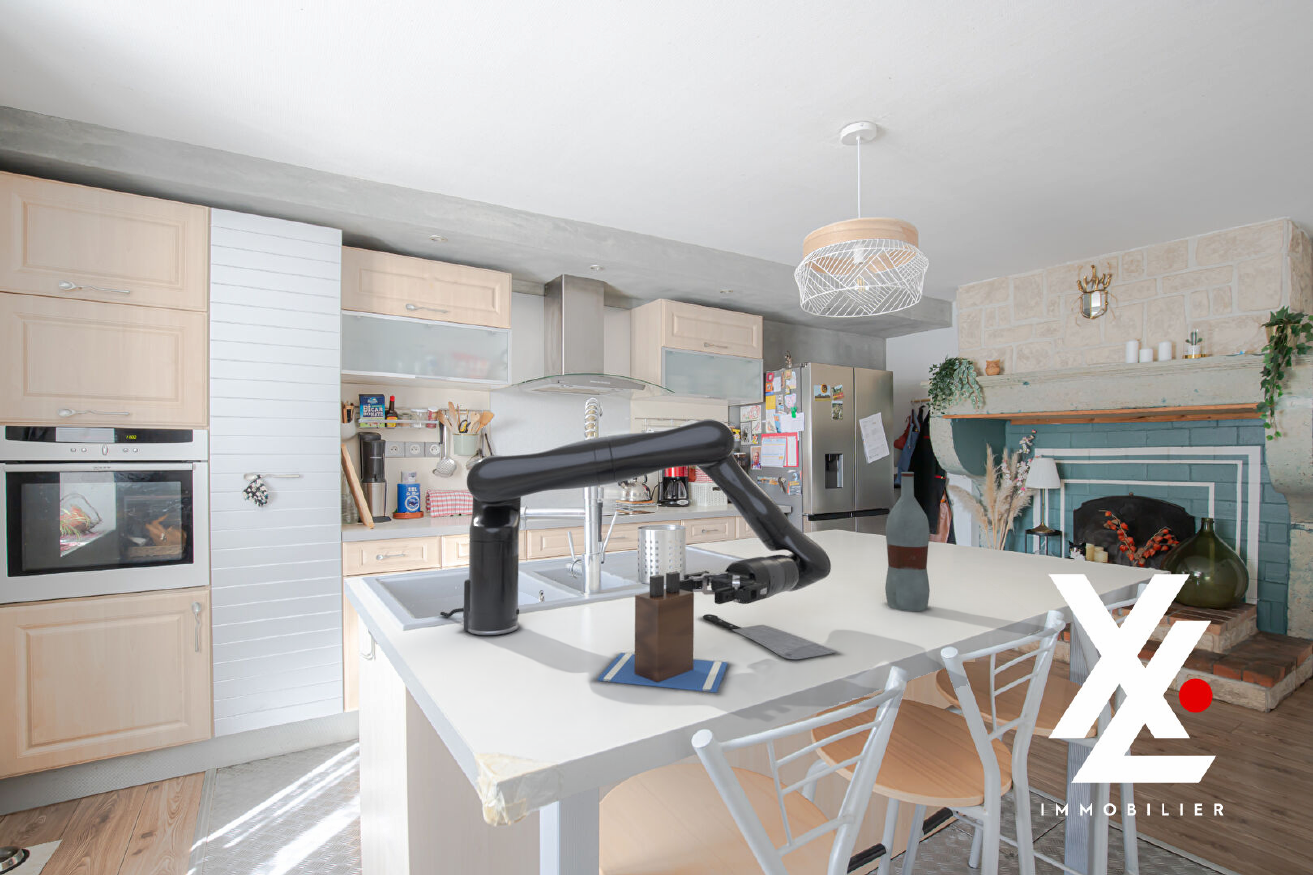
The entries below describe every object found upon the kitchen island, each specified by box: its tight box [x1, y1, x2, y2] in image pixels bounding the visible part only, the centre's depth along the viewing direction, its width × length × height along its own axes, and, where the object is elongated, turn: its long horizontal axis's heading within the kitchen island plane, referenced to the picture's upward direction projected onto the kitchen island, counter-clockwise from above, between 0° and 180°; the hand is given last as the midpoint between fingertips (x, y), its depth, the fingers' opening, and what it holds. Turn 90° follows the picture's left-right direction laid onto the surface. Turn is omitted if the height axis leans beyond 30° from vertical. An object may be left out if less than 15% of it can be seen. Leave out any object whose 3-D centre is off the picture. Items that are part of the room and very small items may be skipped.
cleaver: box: [702, 613, 837, 660], centre depth 118 cm, size 29×1×10 cm
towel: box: [597, 652, 728, 694], centre depth 98 cm, size 18×12×1 cm, turn 76°
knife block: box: [634, 571, 695, 683], centre depth 97 cm, size 5×8×15 cm, turn 135°
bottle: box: [884, 471, 931, 612], centre depth 140 cm, size 9×9×30 cm
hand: (696, 592), depth 102 cm, fingers open, 8 cm apart
